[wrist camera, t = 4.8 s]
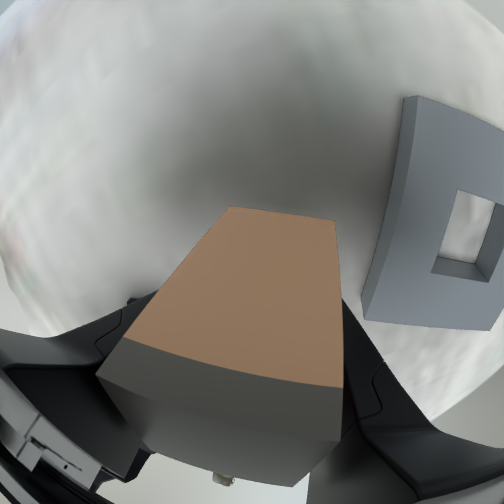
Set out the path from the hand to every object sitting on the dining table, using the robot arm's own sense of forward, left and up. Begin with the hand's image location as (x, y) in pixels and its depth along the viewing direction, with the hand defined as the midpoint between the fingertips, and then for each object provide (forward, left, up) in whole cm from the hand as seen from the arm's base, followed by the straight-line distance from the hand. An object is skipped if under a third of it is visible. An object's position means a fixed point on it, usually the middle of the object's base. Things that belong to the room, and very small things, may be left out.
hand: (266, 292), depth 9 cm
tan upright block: (0, 0, -2) cm, 2 cm away
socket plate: (+1, -12, -9) cm, 15 cm away
